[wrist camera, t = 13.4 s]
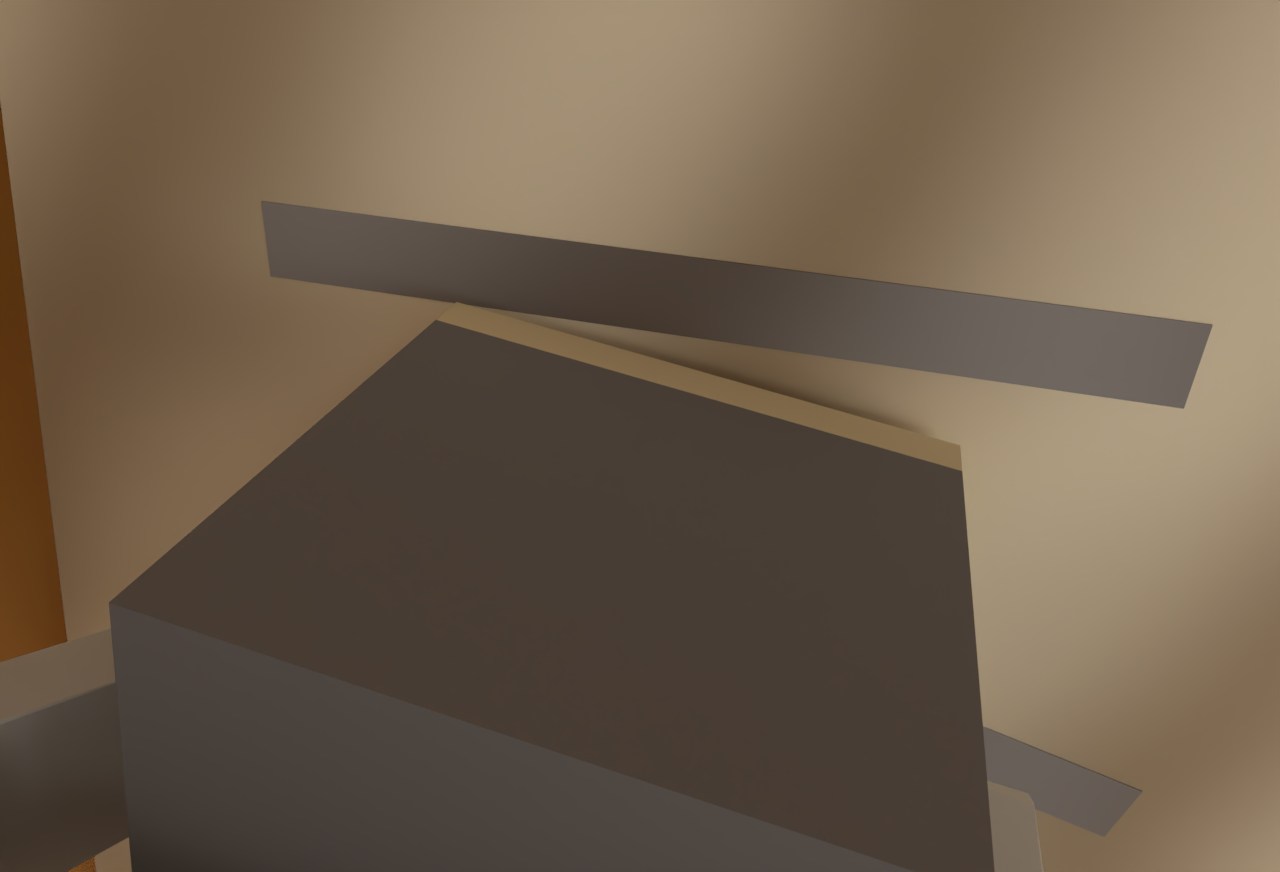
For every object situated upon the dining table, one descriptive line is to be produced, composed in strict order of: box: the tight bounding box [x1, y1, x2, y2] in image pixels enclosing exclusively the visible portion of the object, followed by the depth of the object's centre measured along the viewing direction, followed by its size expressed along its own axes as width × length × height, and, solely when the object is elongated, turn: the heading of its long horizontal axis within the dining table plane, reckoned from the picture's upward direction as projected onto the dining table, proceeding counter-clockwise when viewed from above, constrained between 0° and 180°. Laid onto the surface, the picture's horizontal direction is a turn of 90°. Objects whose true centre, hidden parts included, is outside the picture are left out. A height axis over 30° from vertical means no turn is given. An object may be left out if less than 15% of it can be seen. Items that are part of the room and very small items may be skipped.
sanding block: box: [109, 302, 995, 872], centre depth 9 cm, size 5×7×5 cm
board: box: [0, 0, 1280, 872], centre depth 12 cm, size 16×22×1 cm
